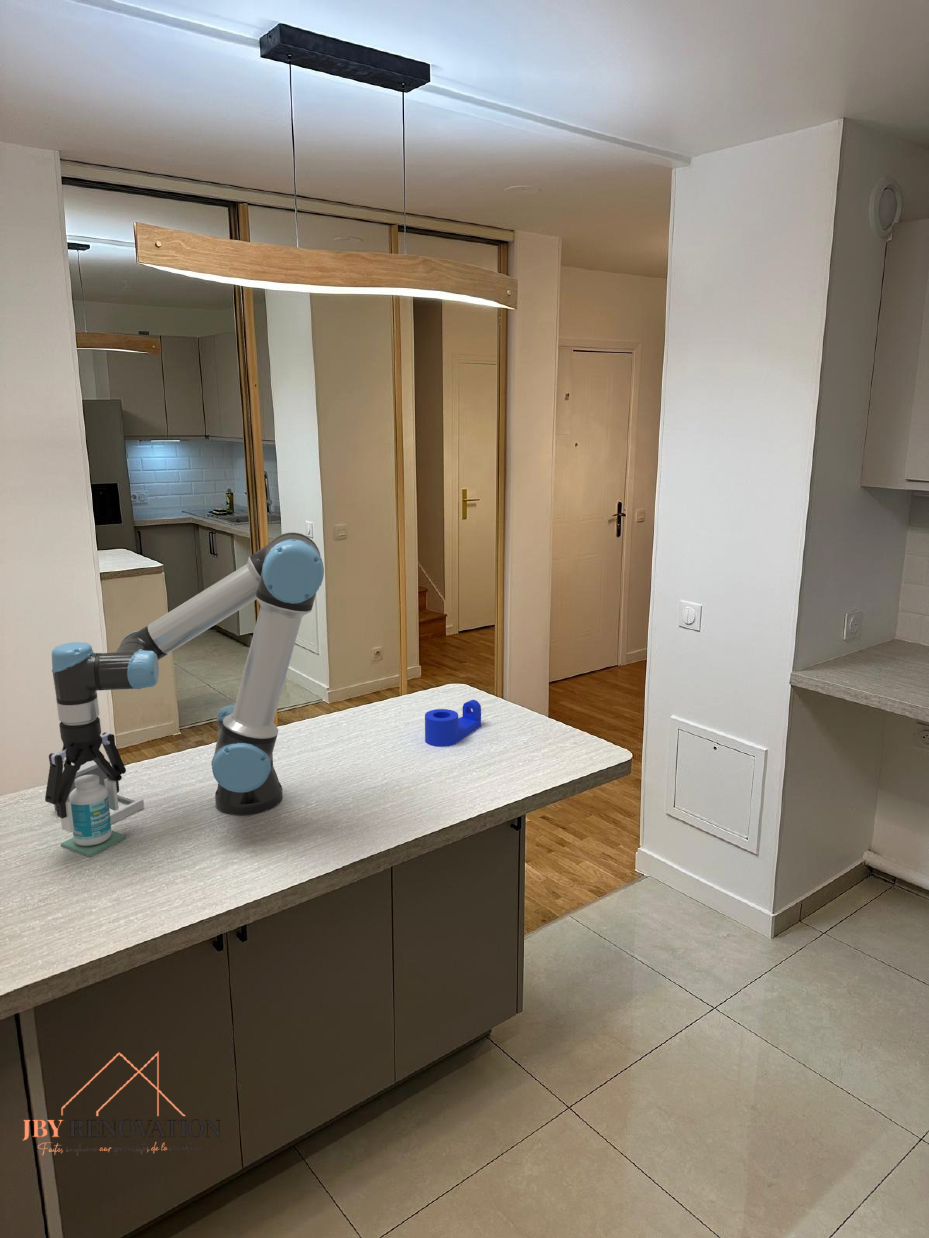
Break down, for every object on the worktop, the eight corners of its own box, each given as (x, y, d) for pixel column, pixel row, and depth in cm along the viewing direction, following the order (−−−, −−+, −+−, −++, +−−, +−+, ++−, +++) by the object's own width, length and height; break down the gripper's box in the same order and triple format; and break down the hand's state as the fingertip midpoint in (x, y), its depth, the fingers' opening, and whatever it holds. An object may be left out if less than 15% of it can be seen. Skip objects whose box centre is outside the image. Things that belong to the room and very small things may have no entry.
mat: (126, 837, 181) (125, 835, 181) (89, 857, 173) (89, 854, 173) (97, 827, 185) (97, 825, 185) (60, 846, 177) (60, 843, 177)
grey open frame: (144, 807, 194) (140, 768, 192) (103, 828, 185) (98, 787, 182) (96, 792, 202) (92, 754, 199) (55, 810, 192) (49, 771, 190)
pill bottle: (98, 848, 175) (91, 787, 172) (66, 845, 176) (58, 784, 173) (119, 832, 182) (113, 772, 179) (88, 829, 183) (81, 770, 180)
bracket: (444, 750, 227) (444, 723, 225) (418, 742, 232) (417, 715, 230) (487, 728, 242) (487, 703, 240) (461, 721, 247) (461, 696, 246)
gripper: (113, 699, 184) (123, 793, 189) (15, 734, 164) (29, 838, 170) (138, 705, 180) (147, 801, 186) (40, 741, 161) (53, 847, 166)
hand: (91, 819), depth 178 cm, fingers open, 10 cm apart
